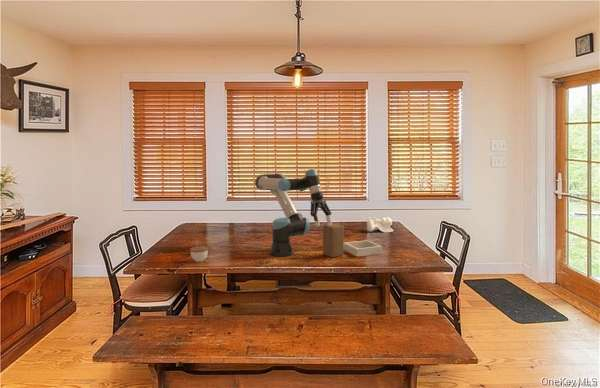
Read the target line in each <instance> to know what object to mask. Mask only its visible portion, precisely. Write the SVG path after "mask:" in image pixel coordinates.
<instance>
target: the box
mask: <svg viewBox="0 0 600 388" xmlns="http://www.w3.org/2000/svg"><path fill="white" fill-rule="evenodd" d="M343 251H344V252H347V253H349V254H350V255H352V256H355V257H357V258H358V257H359V258H360V257H367V256H368V257H369V256H374V255H382V254H383V246H381V245H379V244H378V243H376V242H375V243H374V242H372V241H370V240H368V239H366V240H357V241H348V242H347V241H346V242H344V246H343Z"/></svg>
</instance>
